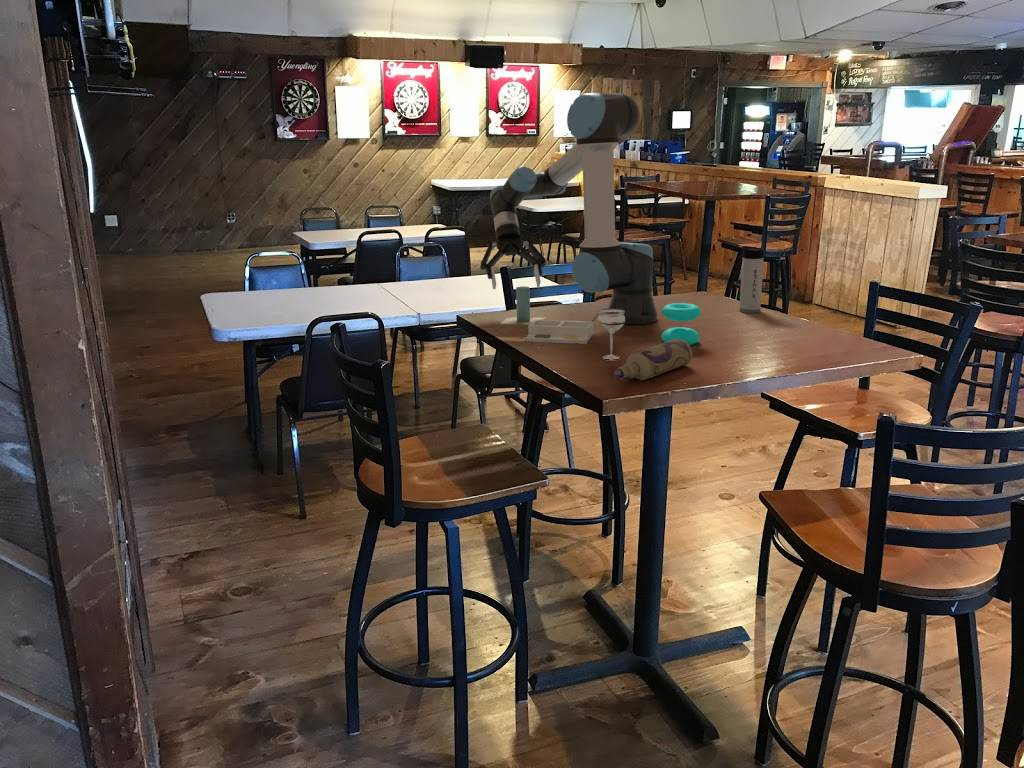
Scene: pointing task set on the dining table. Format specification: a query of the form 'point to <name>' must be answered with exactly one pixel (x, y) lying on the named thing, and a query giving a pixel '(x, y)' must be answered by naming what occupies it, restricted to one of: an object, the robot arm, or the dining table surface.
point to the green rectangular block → (523, 303)
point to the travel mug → (751, 279)
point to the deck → (514, 321)
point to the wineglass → (611, 325)
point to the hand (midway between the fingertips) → (516, 285)
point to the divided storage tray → (560, 331)
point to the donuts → (681, 314)
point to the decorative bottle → (655, 360)
